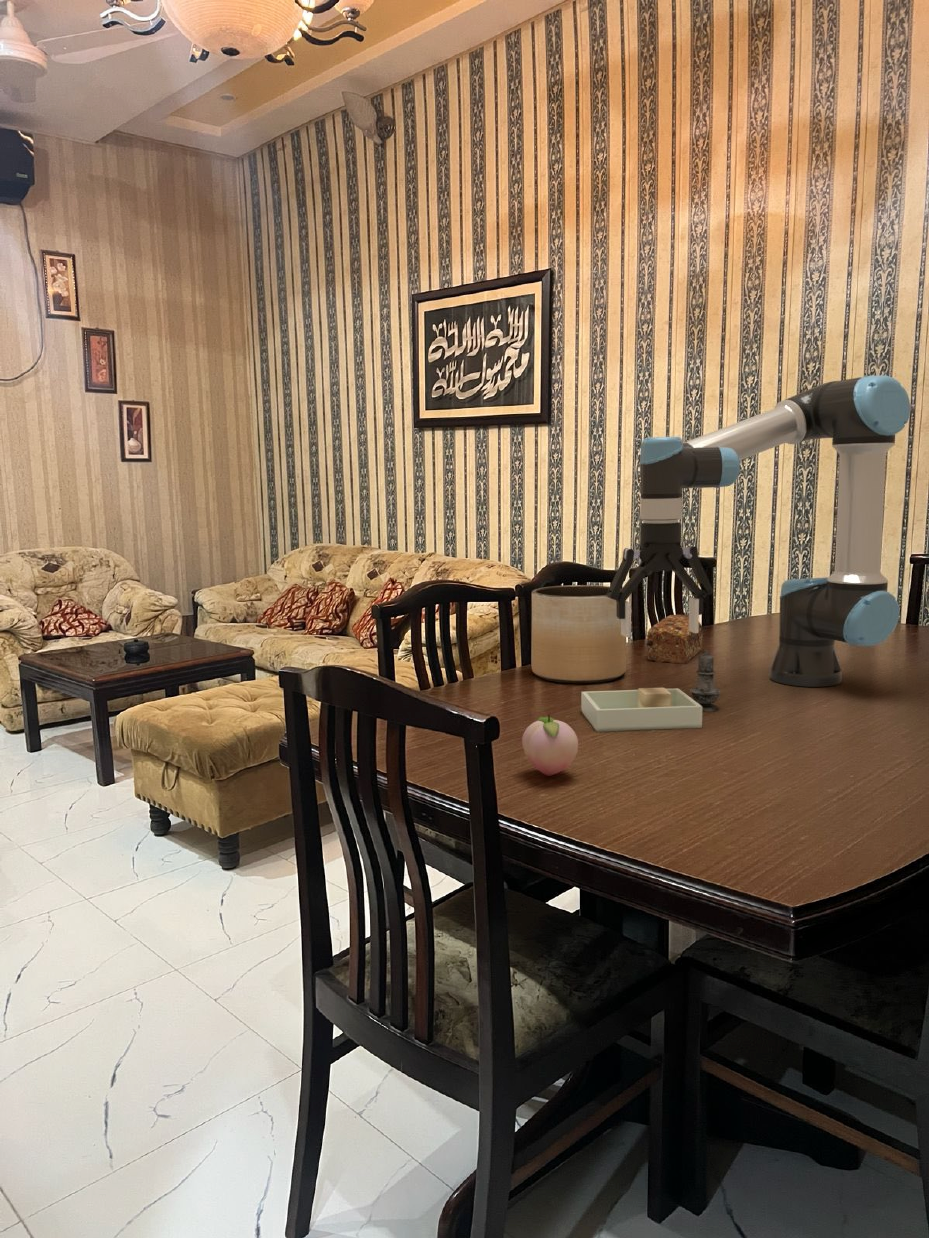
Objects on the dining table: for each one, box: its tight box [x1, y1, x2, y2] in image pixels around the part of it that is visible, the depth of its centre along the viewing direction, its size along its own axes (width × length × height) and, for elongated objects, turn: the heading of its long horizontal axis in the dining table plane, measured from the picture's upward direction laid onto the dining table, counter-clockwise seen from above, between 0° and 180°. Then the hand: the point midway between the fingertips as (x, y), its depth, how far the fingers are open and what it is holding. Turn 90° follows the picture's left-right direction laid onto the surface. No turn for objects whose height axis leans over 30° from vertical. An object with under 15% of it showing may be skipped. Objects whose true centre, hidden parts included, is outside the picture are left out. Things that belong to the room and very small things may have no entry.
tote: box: [580, 687, 703, 733], centre depth 172 cm, size 20×15×4 cm
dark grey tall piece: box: [689, 648, 722, 713], centre depth 179 cm, size 6×6×12 cm
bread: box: [646, 614, 703, 665], centre depth 231 cm, size 19×11×10 cm, turn 153°
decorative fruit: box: [521, 713, 579, 777], centre depth 140 cm, size 9×8×10 cm
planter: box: [530, 584, 627, 684], centre depth 210 cm, size 22×22×20 cm
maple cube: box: [637, 687, 671, 708], centre depth 172 cm, size 5×5×5 cm
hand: (659, 634), depth 170 cm, fingers open, 13 cm apart
